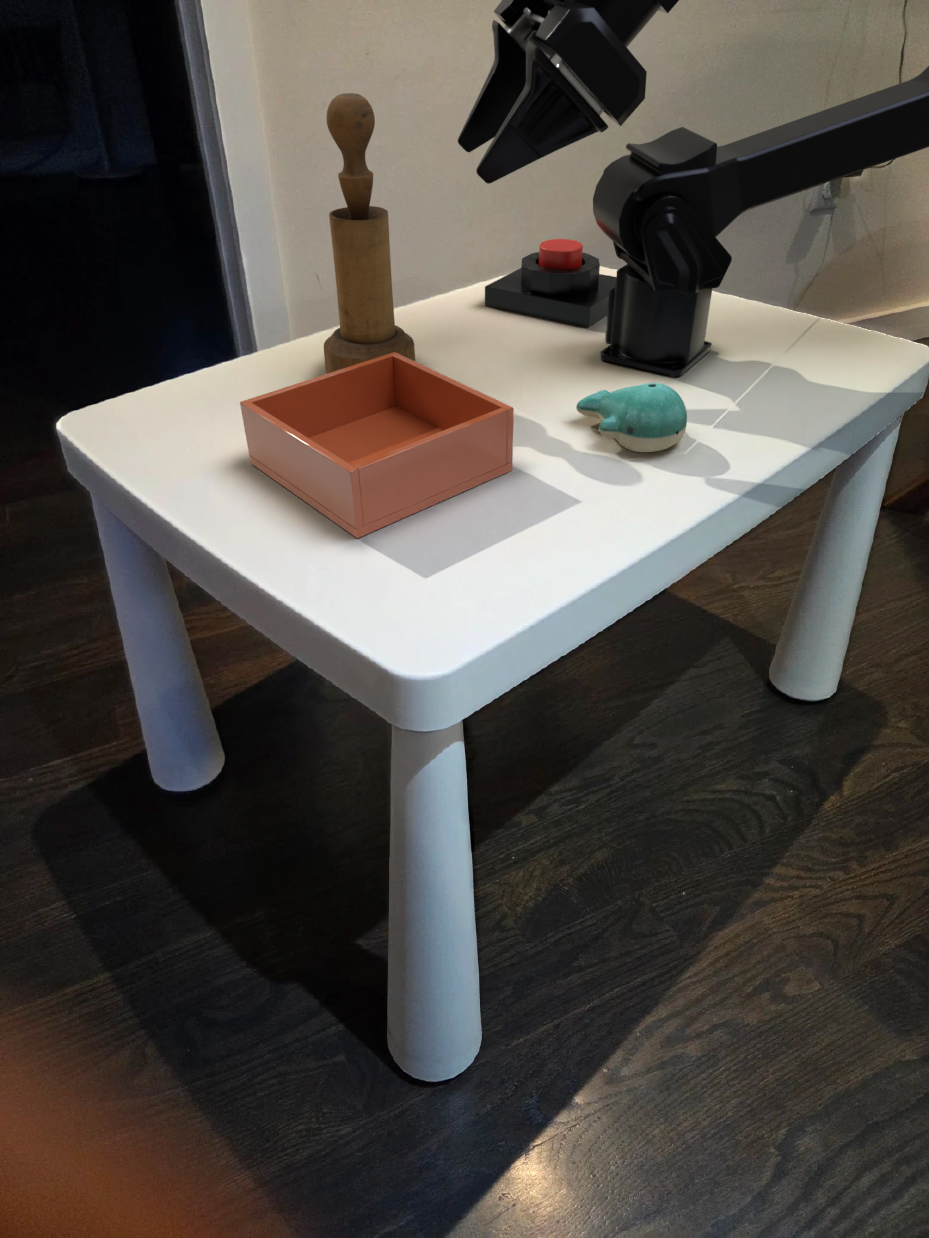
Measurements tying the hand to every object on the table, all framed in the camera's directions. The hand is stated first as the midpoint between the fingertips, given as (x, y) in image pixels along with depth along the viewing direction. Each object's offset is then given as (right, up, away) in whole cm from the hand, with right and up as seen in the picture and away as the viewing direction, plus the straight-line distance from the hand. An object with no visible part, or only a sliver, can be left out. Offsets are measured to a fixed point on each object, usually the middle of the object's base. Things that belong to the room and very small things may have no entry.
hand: (471, 162), depth 59 cm
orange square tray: (-6, -20, -3) cm, 21 cm away
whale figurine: (+10, -18, 0) cm, 21 cm away
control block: (+8, -2, +20) cm, 21 cm away
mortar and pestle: (-7, -12, +8) cm, 16 cm away
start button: (+8, 0, +18) cm, 19 cm away
